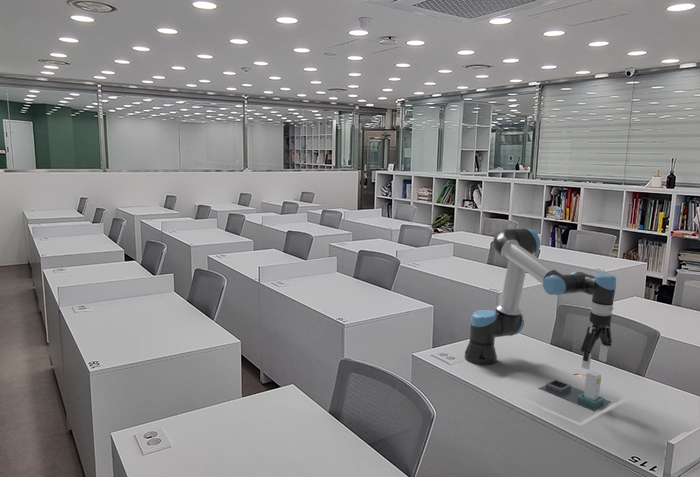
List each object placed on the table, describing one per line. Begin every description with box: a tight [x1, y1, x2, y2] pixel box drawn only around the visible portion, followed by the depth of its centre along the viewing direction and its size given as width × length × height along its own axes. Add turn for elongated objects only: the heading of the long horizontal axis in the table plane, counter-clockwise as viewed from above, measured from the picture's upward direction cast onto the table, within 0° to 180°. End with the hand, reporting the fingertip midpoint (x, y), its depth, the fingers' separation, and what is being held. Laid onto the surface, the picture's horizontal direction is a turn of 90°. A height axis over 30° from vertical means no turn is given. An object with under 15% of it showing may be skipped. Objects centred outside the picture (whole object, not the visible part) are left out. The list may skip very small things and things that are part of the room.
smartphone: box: [572, 373, 586, 380], centre depth 228 cm, size 1×7×15 cm
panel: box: [538, 379, 611, 412], centre depth 213 cm, size 24×14×3 cm, turn 38°
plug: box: [583, 370, 602, 401], centre depth 206 cm, size 5×4×12 cm
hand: (594, 364), depth 205 cm, fingers open, 13 cm apart
